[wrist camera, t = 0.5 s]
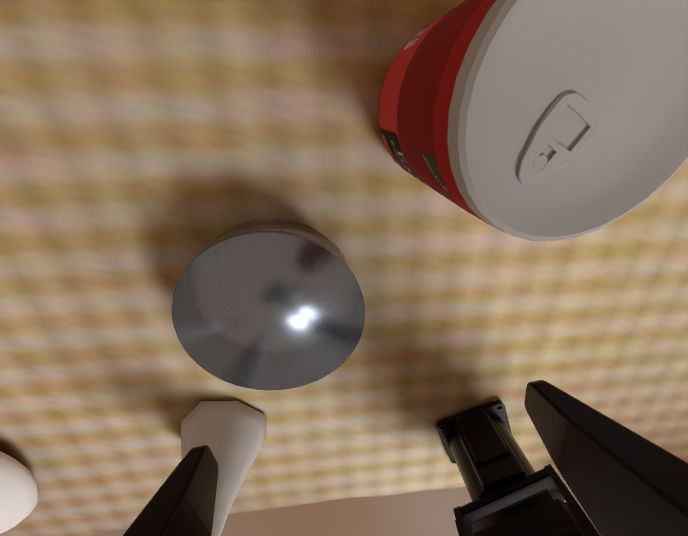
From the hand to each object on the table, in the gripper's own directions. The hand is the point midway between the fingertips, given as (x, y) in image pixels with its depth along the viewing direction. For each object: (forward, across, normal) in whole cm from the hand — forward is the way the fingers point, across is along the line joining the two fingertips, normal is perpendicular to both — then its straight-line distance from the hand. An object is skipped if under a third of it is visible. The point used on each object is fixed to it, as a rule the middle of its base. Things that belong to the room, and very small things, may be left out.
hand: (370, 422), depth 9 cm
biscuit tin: (+14, +5, +3) cm, 15 cm away
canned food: (+14, -7, -7) cm, 17 cm away
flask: (+14, +12, +15) cm, 24 cm away
